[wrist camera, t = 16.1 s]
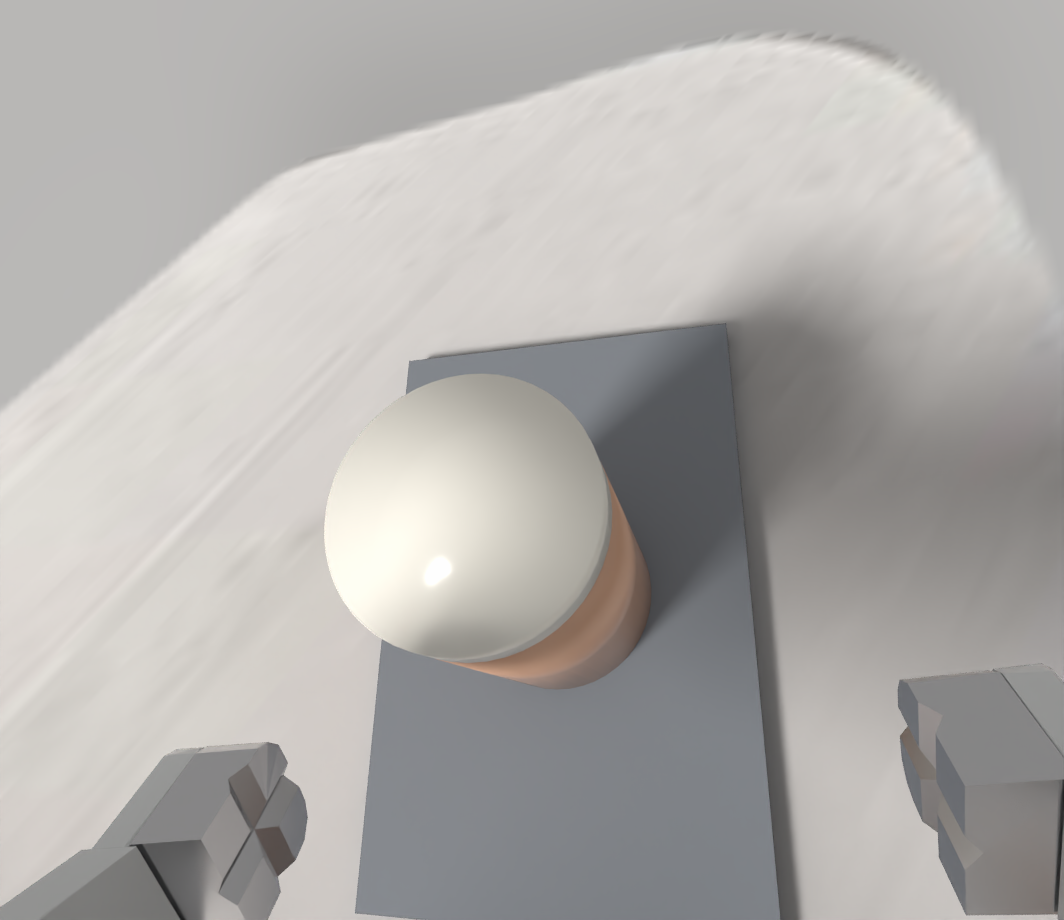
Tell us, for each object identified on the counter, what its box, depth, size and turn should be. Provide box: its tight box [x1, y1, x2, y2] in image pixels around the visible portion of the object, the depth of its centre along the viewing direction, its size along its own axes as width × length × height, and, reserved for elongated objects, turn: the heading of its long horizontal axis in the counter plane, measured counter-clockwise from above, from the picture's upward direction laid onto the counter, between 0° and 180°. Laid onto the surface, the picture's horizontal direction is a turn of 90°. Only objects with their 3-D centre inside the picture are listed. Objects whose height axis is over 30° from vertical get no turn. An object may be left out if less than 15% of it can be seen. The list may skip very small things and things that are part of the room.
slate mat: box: [355, 324, 780, 920], centre depth 21 cm, size 17×11×1 cm, turn 179°
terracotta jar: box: [324, 374, 651, 689], centre depth 17 cm, size 6×6×8 cm
